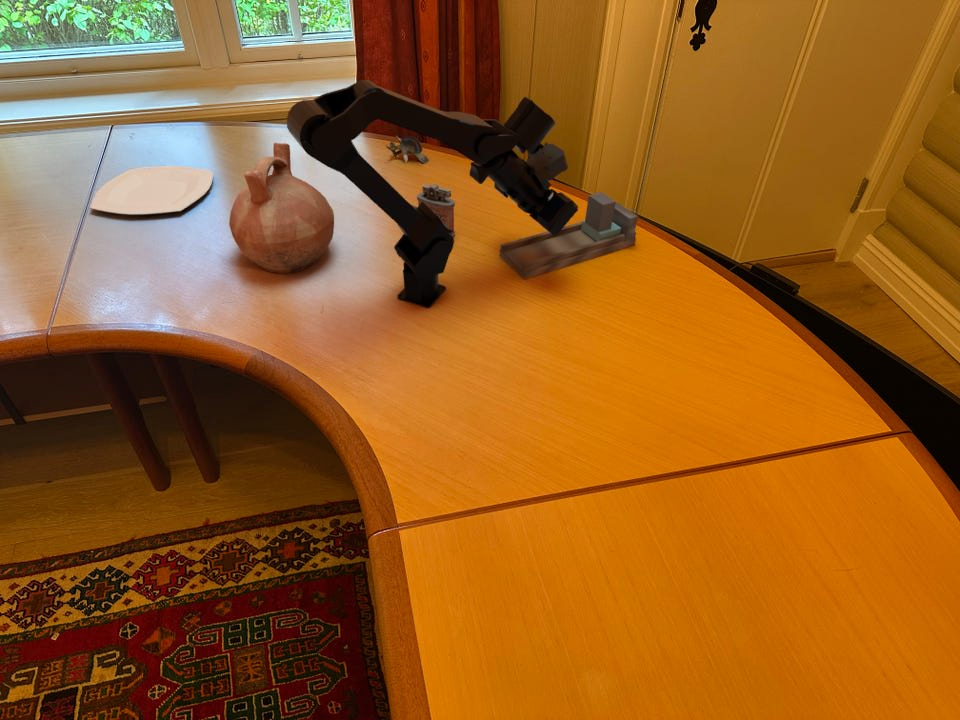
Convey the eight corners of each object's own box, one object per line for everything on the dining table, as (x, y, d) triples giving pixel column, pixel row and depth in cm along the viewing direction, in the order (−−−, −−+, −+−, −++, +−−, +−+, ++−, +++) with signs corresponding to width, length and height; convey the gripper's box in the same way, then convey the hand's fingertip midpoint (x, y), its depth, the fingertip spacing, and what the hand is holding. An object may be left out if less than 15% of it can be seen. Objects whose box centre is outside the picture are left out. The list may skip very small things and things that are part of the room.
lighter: (415, 231, 123) (412, 185, 116) (424, 224, 125) (422, 178, 118) (449, 241, 120) (449, 194, 113) (458, 234, 122) (457, 187, 116)
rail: (524, 279, 110) (527, 248, 106) (499, 256, 116) (500, 225, 112) (634, 245, 120) (641, 215, 116) (606, 225, 126) (611, 196, 122)
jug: (315, 290, 107) (295, 184, 93) (221, 277, 109) (188, 171, 96) (353, 238, 120) (339, 138, 107) (268, 227, 123) (244, 128, 109)
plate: (189, 224, 124) (187, 215, 122) (77, 220, 124) (73, 212, 123) (227, 175, 141) (225, 167, 140) (129, 172, 141) (125, 164, 140)
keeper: (599, 243, 117) (605, 206, 112) (580, 229, 121) (586, 193, 116) (619, 237, 119) (626, 201, 114) (600, 223, 123) (606, 188, 118)
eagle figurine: (386, 162, 144) (422, 159, 142) (384, 131, 143) (420, 127, 141) (397, 168, 152) (432, 164, 150) (395, 138, 151) (430, 135, 149)
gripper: (576, 154, 93) (619, 206, 104) (512, 115, 105) (557, 165, 116) (529, 212, 95) (576, 256, 106) (471, 167, 107) (519, 211, 118)
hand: (557, 219), depth 112 cm, fingers closed
